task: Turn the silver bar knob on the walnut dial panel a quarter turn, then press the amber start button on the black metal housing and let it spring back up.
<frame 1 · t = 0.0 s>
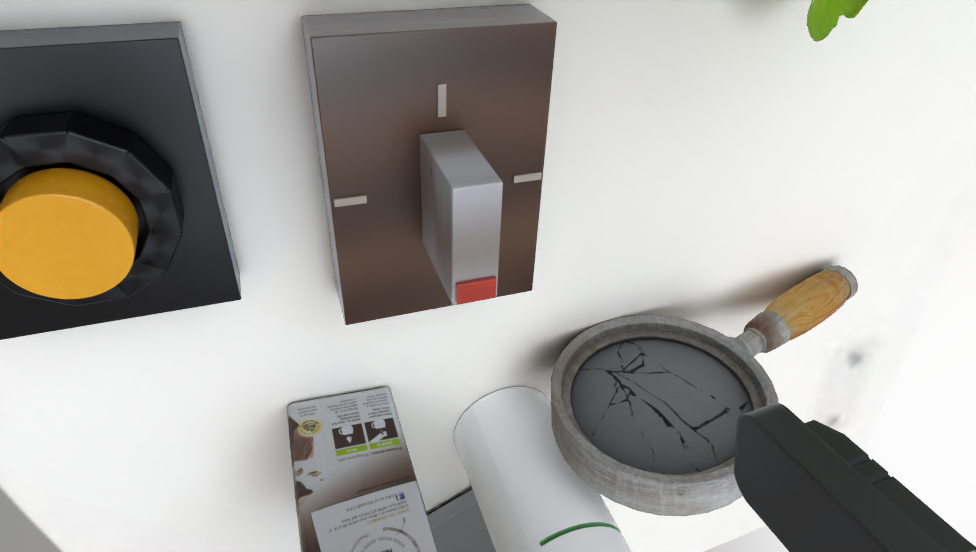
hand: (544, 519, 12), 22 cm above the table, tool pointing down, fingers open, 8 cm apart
magnifying glass: (683, 312, 46), on the table
dial panel: (425, 159, 32), on the table
start button: (68, 234, 24), point 5 cm above the table, slide at 0.1 cm
cylindrical container: (502, 421, 46), on the table
upright grey panel: (418, 539, 51), on the table
button housing: (86, 176, 27), on the table
dial knob: (458, 217, 28), point 6 cm above the table, hinge at 0.0°
coffee box: (341, 441, 42), on the table
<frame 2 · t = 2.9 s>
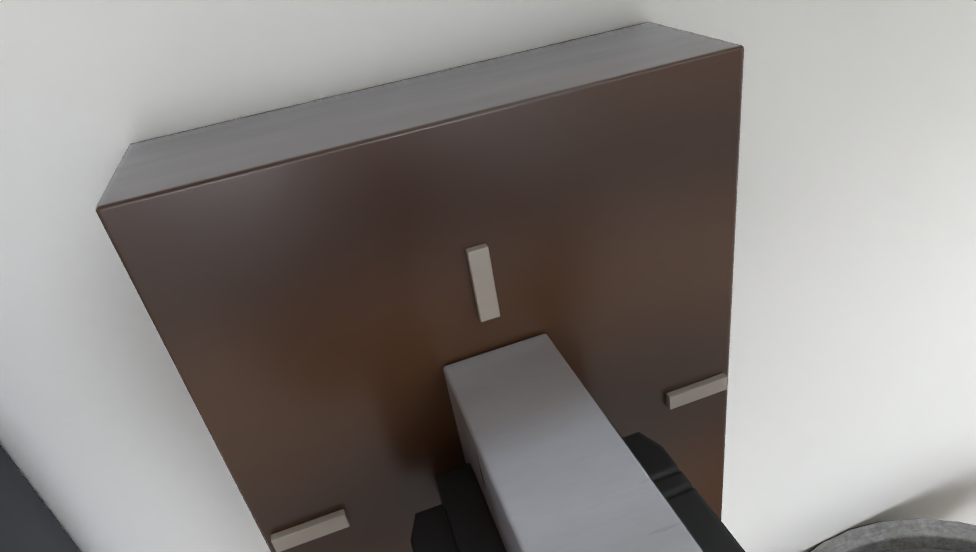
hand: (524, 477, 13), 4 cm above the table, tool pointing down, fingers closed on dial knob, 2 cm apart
magnifying glass: (951, 493, 27), on the table
dial panel: (471, 368, 16), on the table
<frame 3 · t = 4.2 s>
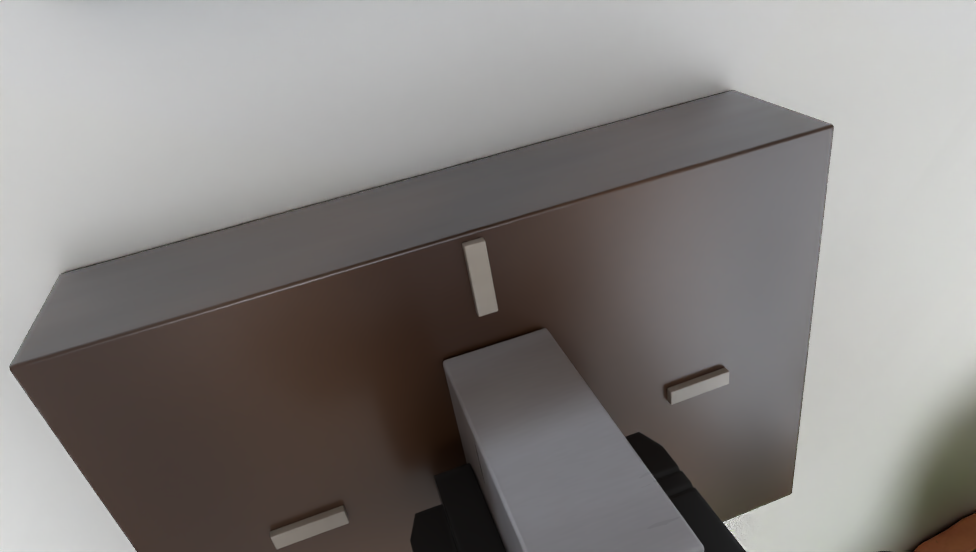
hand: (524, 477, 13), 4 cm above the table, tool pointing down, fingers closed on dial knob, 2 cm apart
dial panel: (472, 365, 16), on the table
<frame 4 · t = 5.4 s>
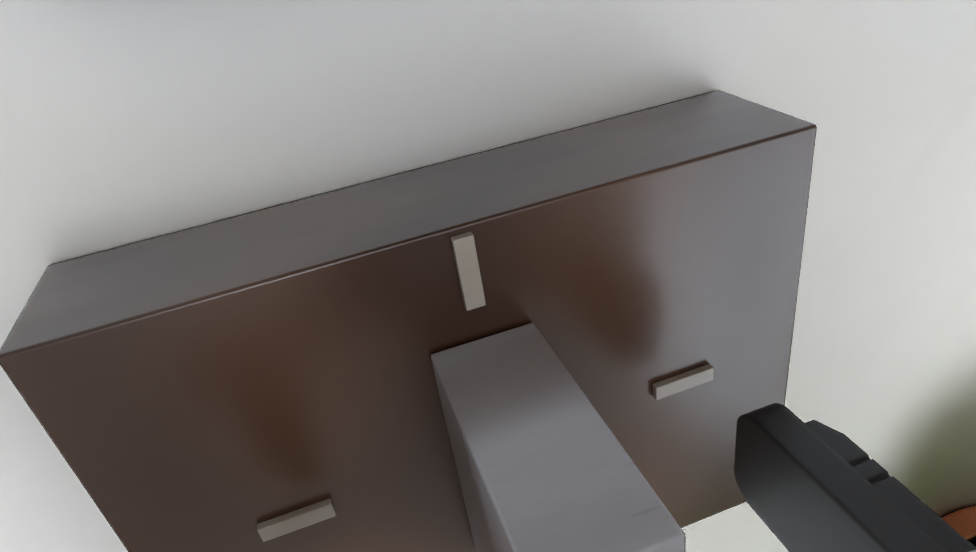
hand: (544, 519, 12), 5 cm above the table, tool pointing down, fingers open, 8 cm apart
dial panel: (460, 360, 16), on the table
dial knob: (552, 549, 11), point 6 cm above the table, hinge at 89.5°
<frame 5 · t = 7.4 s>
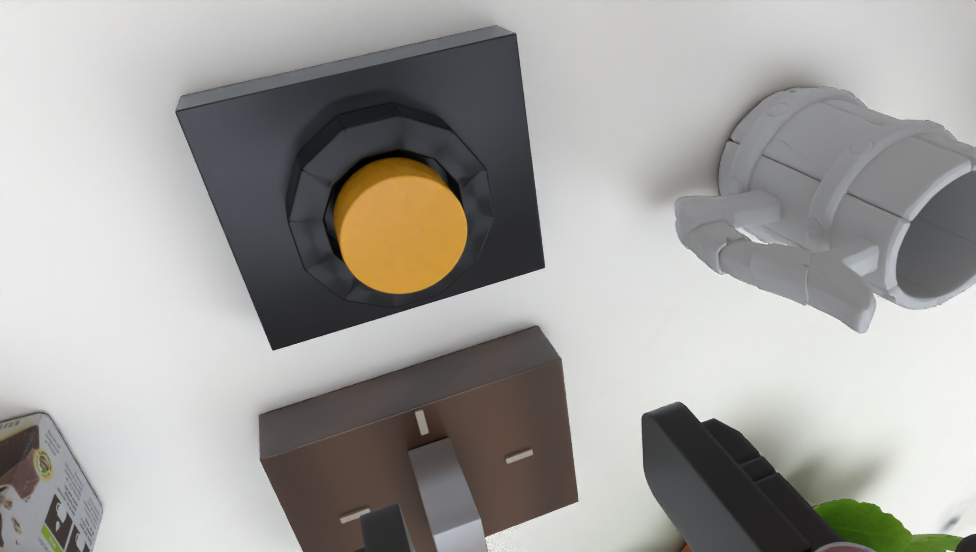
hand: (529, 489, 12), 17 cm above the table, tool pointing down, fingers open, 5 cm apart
potted flower: (719, 546, 48), on the table
dial panel: (424, 442, 34), on the table
start button: (399, 226, 23), point 5 cm above the table, slide at 0.1 cm
button housing: (378, 182, 27), on the table
dial knob: (453, 526, 29), point 6 cm above the table, hinge at 89.5°
mug: (740, 169, 33), on the table
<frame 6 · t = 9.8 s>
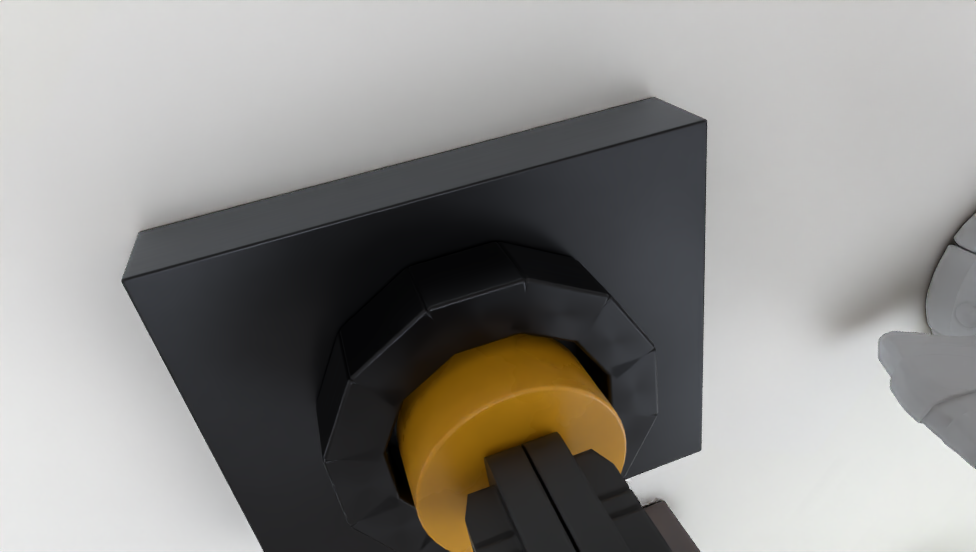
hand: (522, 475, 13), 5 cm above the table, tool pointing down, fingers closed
start button: (509, 444, 14), point 4 cm above the table, slide at -0.3 cm, touching gripper
button housing: (456, 336, 17), on the table
mug: (955, 278, 23), on the table
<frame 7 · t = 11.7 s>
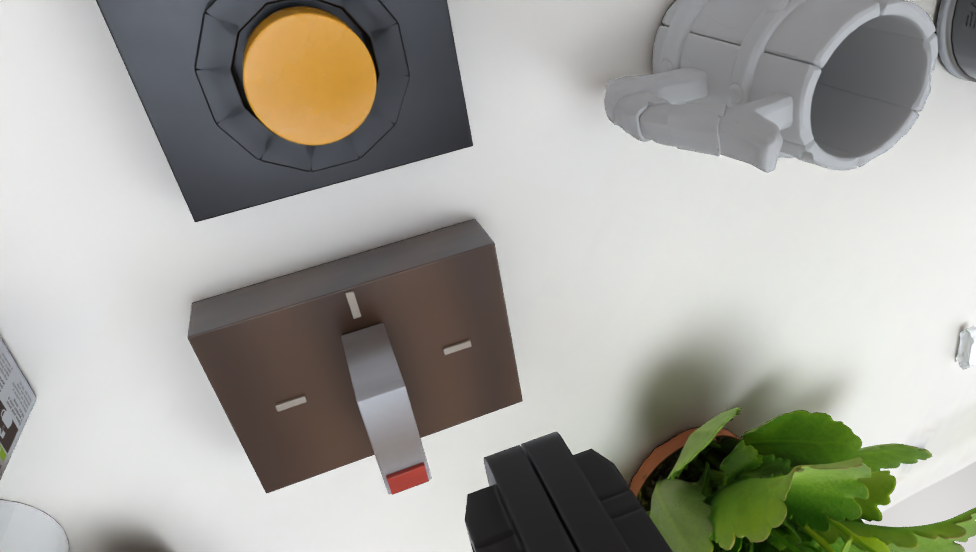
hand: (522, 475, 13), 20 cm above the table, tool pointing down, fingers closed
potted flower: (677, 468, 48), on the table
dial panel: (366, 340, 34), on the table
start button: (309, 76, 23), point 5 cm above the table, slide at 0.1 cm
button housing: (299, 53, 27), on the table
dial knob: (386, 407, 29), point 6 cm above the table, hinge at 89.5°
mug: (675, 58, 33), on the table
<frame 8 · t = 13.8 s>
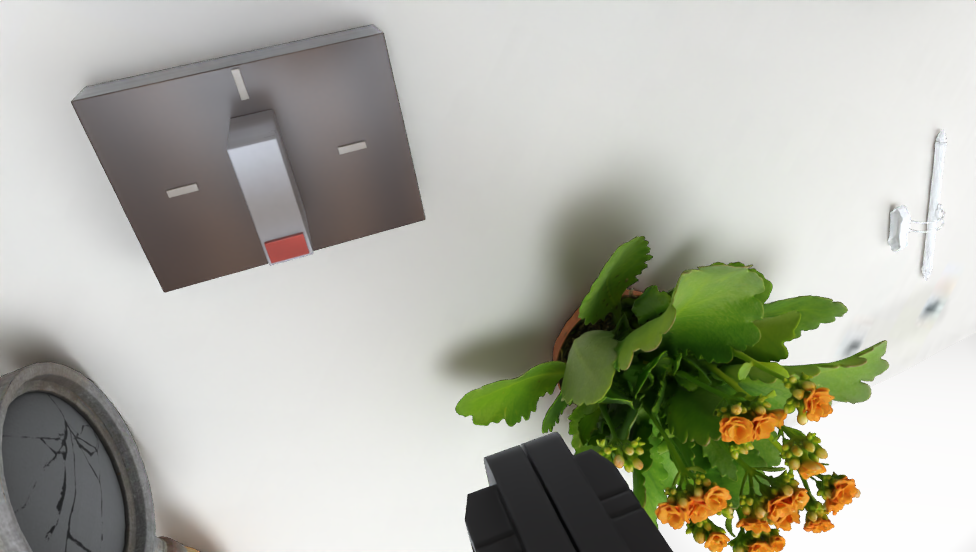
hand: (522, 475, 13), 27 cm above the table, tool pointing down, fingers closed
picture light: (908, 216, 53), on the table
magnifying glass: (138, 474, 42), on the table
potted flower: (603, 335, 48), on the table
dial panel: (268, 149, 35), on the table
dial knob: (271, 186, 30), point 6 cm above the table, hinge at 89.5°
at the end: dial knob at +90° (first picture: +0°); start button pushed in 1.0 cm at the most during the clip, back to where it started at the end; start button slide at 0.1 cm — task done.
